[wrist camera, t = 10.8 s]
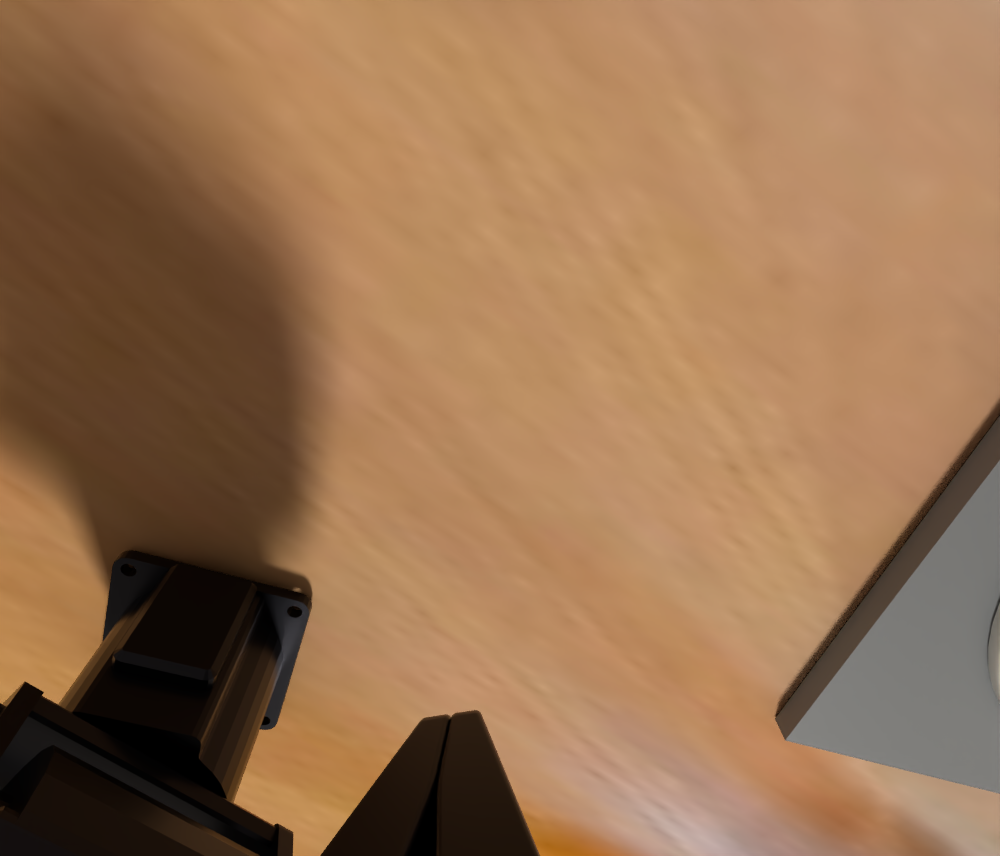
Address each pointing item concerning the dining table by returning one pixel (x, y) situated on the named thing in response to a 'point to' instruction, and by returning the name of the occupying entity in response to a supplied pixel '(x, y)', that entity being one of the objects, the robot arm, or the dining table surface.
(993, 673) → the dial
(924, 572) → the dial plate
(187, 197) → the dining table surface
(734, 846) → the dining table surface
